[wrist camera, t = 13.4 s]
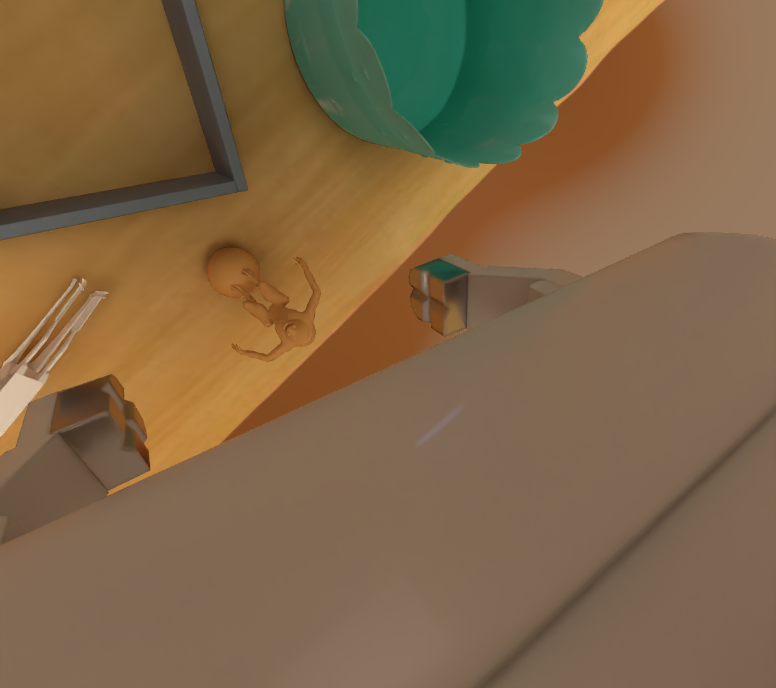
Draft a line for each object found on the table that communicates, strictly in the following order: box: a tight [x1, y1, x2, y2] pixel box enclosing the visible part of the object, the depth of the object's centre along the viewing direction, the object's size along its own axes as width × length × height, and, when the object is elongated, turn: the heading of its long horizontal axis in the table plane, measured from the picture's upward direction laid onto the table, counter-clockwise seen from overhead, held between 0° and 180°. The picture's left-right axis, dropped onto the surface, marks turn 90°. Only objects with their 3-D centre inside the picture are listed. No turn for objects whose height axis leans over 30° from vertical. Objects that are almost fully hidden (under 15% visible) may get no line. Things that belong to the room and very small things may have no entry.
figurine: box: [207, 247, 321, 362], centre depth 28 cm, size 8×6×12 cm
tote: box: [0, 0, 248, 240], centre depth 20 cm, size 15×14×6 cm
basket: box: [284, 0, 604, 168], centre depth 26 cm, size 19×18×13 cm
